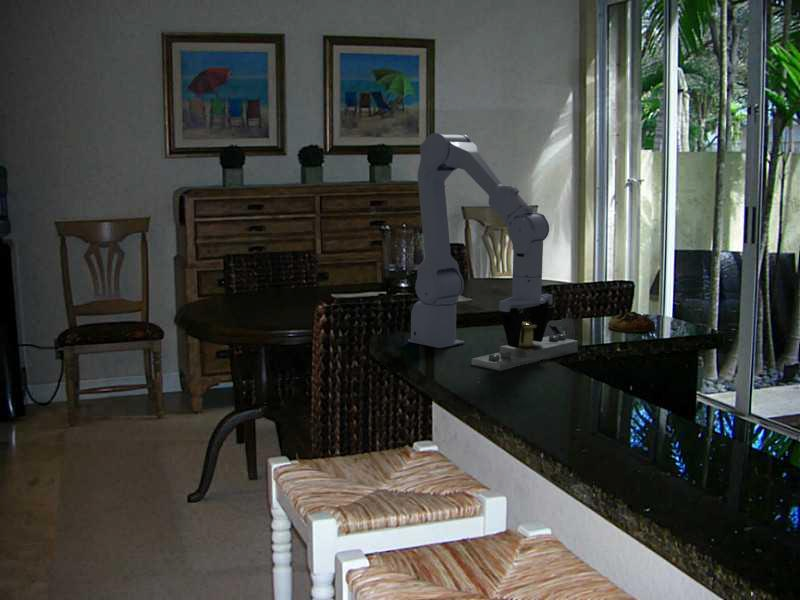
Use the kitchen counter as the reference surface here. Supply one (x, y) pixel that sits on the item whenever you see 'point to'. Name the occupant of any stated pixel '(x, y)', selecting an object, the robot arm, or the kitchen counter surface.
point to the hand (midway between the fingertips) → (525, 343)
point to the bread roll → (631, 323)
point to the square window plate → (505, 360)
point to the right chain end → (546, 347)
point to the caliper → (565, 325)
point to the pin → (527, 335)
